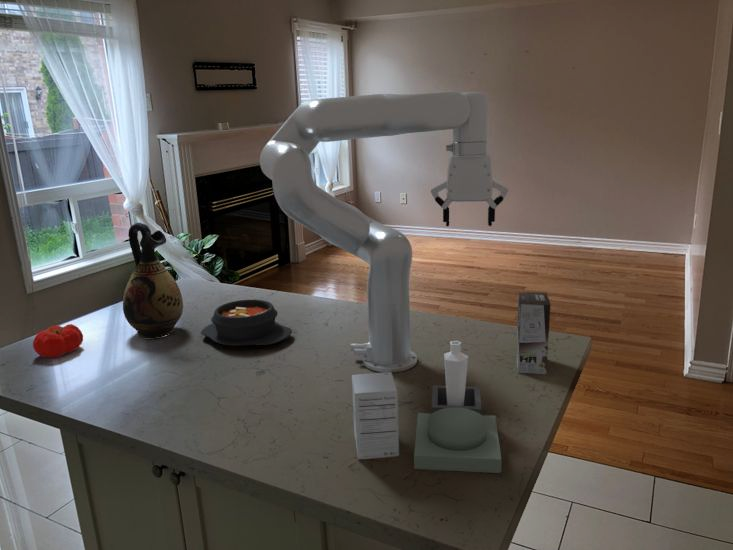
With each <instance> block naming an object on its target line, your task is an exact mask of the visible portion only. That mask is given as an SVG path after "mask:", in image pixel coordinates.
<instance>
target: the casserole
mask: <svg viewBox="0 0 733 550" xmlns="http://www.w3.org/2000/svg"><path fill="white" fill-rule="evenodd" d="M278 314H279V313H278V310H276V309H275V307H274V305H273V303H272V302H270V301H267V300H262V299H242V300H234V301H229V302H227V303H223V304H222V305H220V306H218V307H217V308H215V310H214V313H213V315H212V317H211V323H210V324H208V325H206V326H205V327H204V328H203V329H202V330H201V331H200V334H201V335H202V336H205V337H208V339H210V340H211V341H212V342H215V343H217V344H221V345H224V346H232V347H233V346H234V347H235V346H236V347H245V346H252V345H253V346H254V345H255V346H267V345H269V346H270V345H273V344H276V343H279V342H281V341H283V340H286V339H287V338H289V337H290V336H291V334H292V333H293V330H292V328H290V327H287V326H285V325H282V324H280V323H279V322H277V321H276V318H277V317H278Z"/></svg>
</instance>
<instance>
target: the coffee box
mask: <svg viewBox="0 0 733 550" xmlns="http://www.w3.org/2000/svg"><path fill="white" fill-rule="evenodd" d="M517 298H518V301H517V323H516V324H517V325H516V327H517V328H516V352H515V353H516V355H515V357H516V358H515V360H516V368H517V373H518V374H536V375H546V374H547V371H548V369H547V368H548V354H549V353H548V351H549V339H550V338H549V336H550V334H549V333H550V322H551V321H550V320H551V319H550V316H551V306H552V305H551V301H550V299H549V296H548V294H547V292H540V291H537V292H535V291H533V292H532V291H531V292H521V291H519V292H518V297H517Z"/></svg>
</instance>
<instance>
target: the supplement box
mask: <svg viewBox="0 0 733 550" xmlns="http://www.w3.org/2000/svg"><path fill="white" fill-rule="evenodd" d="M351 388H352V389H351V391H352V392H351V393H352V411H353V414H352V415H353V430H354V433H353V435H354V439H355V447H356V455H357V459H358V460H368V459H382V458H391V457H392V458H394V457H399V456H400V441H399V440H400V439H399V430H400V429H399V393H398V392H399V391H398V388H397V385H396V382H395V379H394V377H393V372H392V373H391V372H373V373H372V372H371V373H359V374H352V375H351Z"/></svg>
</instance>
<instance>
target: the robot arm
mask: <svg viewBox="0 0 733 550" xmlns="http://www.w3.org/2000/svg"><path fill="white" fill-rule="evenodd" d="M488 101H489V99H488V95H487V94H486V93H485V92H483V91H465V92H459V91H456V90H447V91H444V90H443V91H434V92H427V93H414V94H413V93H411V94H406V93H405V94H396V93H380V94H379V93H377V94H375V93H374V94H366V95H365V94H364V95H363V94H362V95H352V96H339V97H325V98H315V99H314V98H313V99H309V100H305V101H304V102H302V103H301V104H299V106H297V108H296V109H295V110H294V111H293V112H292V113H291V115H289V117H288V118H287V119H286V120H285V122H284V123H283V124H282V125H281V127H280V128H279V129H278V130H276V132H275V133H274V135H273V136H271V138H270V139H269V140H268V142H266V144H265V146H263V148H262V150H261V153H260V156H259V165H260V168H261V172H262V173H263V174H264V175H265V176H266V177H267V178H268V179H269V180H271V181H272V190H273V191H272V192H273V194H274V198H275V201H276V203H277V204H278V206H279V207H280V208H279V209H281V211H282V212H283V213H284V214H285V215H286V216H287V217H289V218H290V219H291V220H293V221H294V222H295V223H297V224H300V225H301V226H303V227H304V228H305V229H308V230H309V231H311V232H312V233H315V234H316V235H319V237H320V238H322V239H323V240H325V241H326V242H328V243H329V244H331V245H333V246H335V247H338V248H340V249H342V250H344V251H345V252H347V253H349V254H351V255H353V256H355V257H356V258H359V259H360V260H362V261H363V262H365V263H366V264H368V265H369V271H368V277H367V281H366V282H367V285H366V299H367V320H368V321H367V323H368V324H367V325H368V341H367V342H364V343H356V342H355V343H353V342H352V343H350V352H353V354H354V356H355V355H356V356H357V355H358V356H361V355H363V357H362V364H363V365H364V366H365V367H366V368H367V369H369V370H372V371H373V372H377V373H384V372H391V373H392V374H393V373H400V372H404V371H407V370H410V369H412V368H413V367H414V366H416V364H418V363H417V362H418V356H417V353H415V352H414V351H412V350H411V326H410V325H411V323H410V322H411V318H410V317H411V316H410V313H411V312H410V310H411V309H410V277H411V276H410V274H411V268H412V262H413V248H412V244H411V242H410V241H409V240H410V239H408V238H407V236H406V235H405V234H404V233H402V232H401V231H399V230H397V229H395V228H392V227H390V226H388V225H386V224H383V223H381V222H379V221H377V220H375V219H373V218H372V217H369V216H368V215H366V214H365V213H363V212H362V211H361V210H360V209H359V208H357V207H356V206H354V205H351V204H349V203H348V202H345V201H342V200H341V199H339V198H337V197H335V196H333V195H332V194H330V193H329V192H327V191H325V190H324V189H322V188H321V187H319V186H318V185H317V184H316V183H315V181H314V178H313V172H312V162H311V158H310V154H311V153H312V152H313V151H314V150H315V148H316V147H317V146H318V144H319V143H320V142H323V143H327V142H328V143H329V142H340V141H348V140H357V139H369V138H370V139H371V138H380V137H393V136H399V135H404V134H406V135H407V134H413V133H414V134H415V133H424V132H425V133H427V132H428V133H429V132H436V131H445V130H446V131H447V130H452V143H451V144H446V145H445V149H446V152H450V153H452V155H450V156H449V157H448V162H447V169H446V181H444V182H442V183H440V184H438V185H437V186H434V187H433V188H431V190H430V193H431V196H432V197H433V199H434V200H435V203H437V204H438V205H439V206H440V207H441V209H442V215H443V216H442V223H445V227H449V226H450V207H449V206H450V205H451V204H452V202H463V203H464V202H486V203H487V204H488V205H489V207H487V225H488V226H489V227H492V226H493V223H494V222H495V221H496V208H498V206H499V205H500V204H501V203H503V201H504V199H505V197H506V196H507V194H508V192H509V188H508V187H507V186H504V185H502V184H500V183H498V182H496V181H495V180H493V169H492V168H493V166H492V160H491V159H492V158H491V155H488V154H487V152H488V146H487V145H488V113H489V112H488V111H489V109H488V108H489V107H488V106H489V104H488V103H489V102H488ZM445 189H446V198H445V199H443V198H442V197H441V196H440V195H439V192H441V191H443V190H445ZM493 189H496V190H497V191H499V194H498V196H497V197H496V198H494V199H493V198H492V196H493Z"/></svg>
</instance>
